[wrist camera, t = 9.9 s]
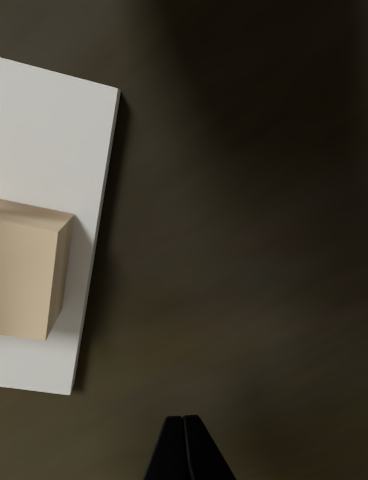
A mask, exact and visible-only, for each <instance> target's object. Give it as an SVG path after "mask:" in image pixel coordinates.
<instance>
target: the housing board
mask: <svg viewBox="0 0 368 480" xmlns="http://www.w3.org/2000/svg"><path fill="white" fill-rule="evenodd" d="M120 93H121V91H120V90H119V89H118V88H114V87H110V86H106V85H103V84H99V83H95V82H91V81H87V80H84V79H80V78H76V77H72V76H68V75H65V74H61V73H57V72H53V71H49V70H46V69H42V68H38V67H34V66H30V65H27V64H23V63H19V62H15V61H11V60H8V59H4V58H0V199H3V200H8V201H13V202H18V203H23V204H28V205H33V206H37V207H42V208H47V209H52V210H57V211H62V212H67V213H72V214H75V215H74V223H73V231H72V238H71V246H70V253H69V261H68V269H67V276H66V284H65V291H64V299H63V306H62V311H61V312H60V314H59V316H58V318H57V320H56V322H55V324H54V326H53V328H52V330H51V332H50V333H49V335H48V337H47V339H46V341H39V340H32V339H25V338H18V337H11V336H5V335H0V387H8V388H16V389H24V390H32V391H40V392H48V393H56V394H64V395H70V394H71V390H72V387H73V384H74V381H75V375H76V369H77V362H78V356H79V350H80V343H81V337H82V331H83V325H84V318H85V312H86V306H87V300H88V293H89V287H90V281H91V275H92V268H93V262H94V256H95V249H96V243H97V237H98V231H99V224H100V218H101V212H102V206H103V199H104V193H105V187H106V181H107V174H108V168H109V162H110V155H111V149H112V143H113V137H114V130H115V124H116V118H117V112H118V105H119V99H120Z"/></svg>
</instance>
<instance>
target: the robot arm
mask: <svg viewBox="0 0 368 480" xmlns="http://www.w3.org/2000/svg"><path fill="white" fill-rule="evenodd" d="M142 480H236V478H235V476H234V475H233V473H232V471H231V469H230V468H229V466H228V464H227V463H226V461H225V459H224V458H223V456H222V454H221V452H220V451H219V449H218V447H217V446H216V444H215V442H214V441H213V439H212V437H211V435H210V434H209V432H208V430H207V429H206V427H205V425H204V423H203V422H202V420H201V418H200V417H199V416H198V415H185V416H183V419H182V417H181V416H168V417H166V419H165V421H164V423H163V426H162V429H161V431H160V434H159V437H158V439H157V442H156V444H155V447H154V450H153V452H152V455H151V457H150V460H149V463H148V465H147V468H146V470H145V473H144V476H143V478H142Z"/></svg>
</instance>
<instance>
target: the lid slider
mask: <svg viewBox="0 0 368 480" xmlns="http://www.w3.org/2000/svg"><path fill="white" fill-rule="evenodd" d="M74 215H75V214H72V213H67V212H62V211H57V210H52V209H47V208H42V207H37V206H33V205H28V204H23V203H18V202H13V201H8V200H3V199H0V335H5V336H11V337H18V338H25V339H32V340H39V341H46V339H47V337H48V335H49V333H50V332H51V330H52V328H53V326H54V324H55V322H56V320H57V318H58V316H59V314H60V312H61V311H62V306H63V299H64V291H65V284H66V276H67V269H68V261H69V253H70V246H71V238H72V231H73V223H74Z"/></svg>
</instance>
